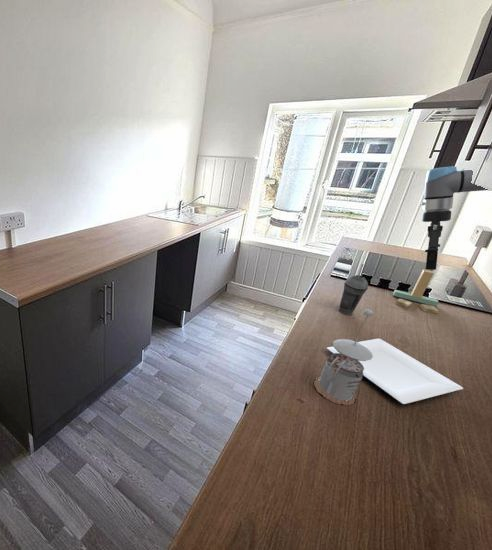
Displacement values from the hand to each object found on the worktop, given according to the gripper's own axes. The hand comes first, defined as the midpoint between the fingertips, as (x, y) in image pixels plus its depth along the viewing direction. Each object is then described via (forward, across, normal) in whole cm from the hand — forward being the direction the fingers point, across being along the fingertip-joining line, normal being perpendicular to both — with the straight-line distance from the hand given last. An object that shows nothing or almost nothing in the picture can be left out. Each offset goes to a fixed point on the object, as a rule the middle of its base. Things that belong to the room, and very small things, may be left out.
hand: (430, 266), depth 115 cm
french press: (+21, +77, -16) cm, 81 cm away
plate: (+22, +55, -7) cm, 60 cm away
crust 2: (+19, -4, 0) cm, 19 cm away
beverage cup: (+15, +24, -22) cm, 37 cm away
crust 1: (+17, -2, -7) cm, 19 cm away
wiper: (+17, -10, -4) cm, 21 cm away
